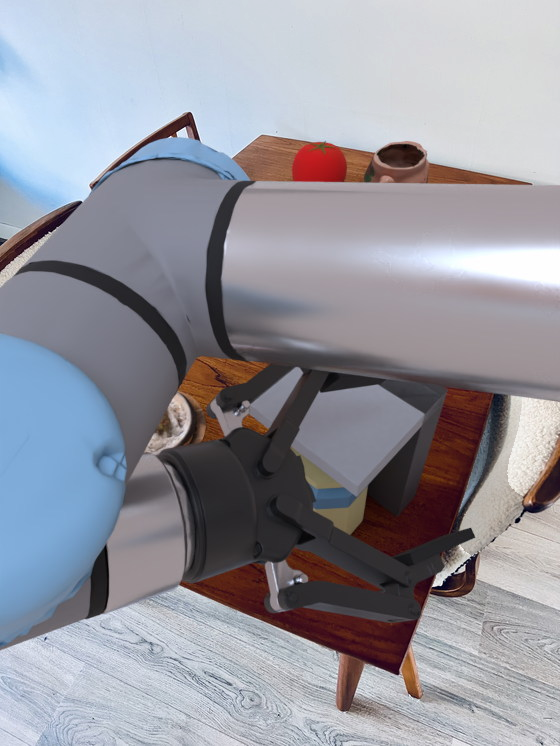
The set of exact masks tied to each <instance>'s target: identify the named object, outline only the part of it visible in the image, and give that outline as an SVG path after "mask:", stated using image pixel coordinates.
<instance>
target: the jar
mask: <svg viewBox="0 0 560 746" xmlns="http://www.w3.org/2000/svg"><path fill="white" fill-rule="evenodd" d="M290 449H291V450H292V451H293V452H294V453H295V454H296V456H299V455H300V456H301V459H302V462H303V464H304V469H305V478H306V480H307V482H308V483H309V485H310V487H311V488H312V490H313V493H314V496H315V498H316V502H314V503H313V511H315V512H317V513H319V514H320V515H322V516H324V517H326V518H328V519H330V520H331V521H333V523H334V526H335V527H336V528H338V529H340V530H342V531H344V532H346V533H348V534H349V535H351V536H352V534H353V532H354V531H355V530H356V529H357V527H359V525H360V524H361V523H362V522H363V520H364V514H365V508H366V502H367V501H366V500H367V496H368V495H367V489H368V485H367V486H366V487H365V489H364V490H363V491H362V492H361V493H360V494H359V495H358V496H357V497H356V496H355V495H354V494H352V493H351V492H350V491H348V490H347V489H346V488H344V487H343V486H342V485H341V484H339V483H338V482H337V481H335V480H334V479H333V478H331V477H330V476H329V475H328V474H326V473H325V472H324V471H322V470H321V469H320V468H318V467H317V466H316V465H315V464H313V463H312V462H311V461H309V460H308V459H307V458H306V457H304V456H303V455H302V454H300V453H299V452H298V451H296V450H295V449H294V448H293V447H290Z"/></svg>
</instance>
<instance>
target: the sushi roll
mask: <svg viewBox="0 0 560 746" xmlns="http://www.w3.org/2000/svg"><path fill="white" fill-rule="evenodd" d="M206 428H207V421H206V415H205V412H204V410H203V407H202V406H201V404H200V403H199V402H198V401H197V400H196V399H195V398H194V397H193V396H191V395H189V394H187V393H186V392H184V391H180V390H178V391H177V393H176V395H175V396H174V398H173V399H172V401H171V403H170V405H169V406H168V408H167V410H166V412H165V414H164V416H163V418H162V419H161V421H160V423H159V425H158V427H157V429H156V431H155V433H154V434H153V436H152V438H151V440H150V442H149V444H148V446H147V447H146V449H145V451H144V452H149V453H152V454H154V455H155V456H158V455H159V453H160V452H161V451H162V450H164V449H167V448H172V447H178V446H183V445H188V444H194V443H199V442H203V438H204V437H205V433H206Z"/></svg>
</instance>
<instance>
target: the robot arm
mask: <svg viewBox="0 0 560 746" xmlns="http://www.w3.org/2000/svg"><path fill="white" fill-rule="evenodd" d="M200 357H207V358H208V357H210V358H216V359H221V360H222V359H223V360H224V359H225V360H232V361H241V362H249V363H250V362H254V363H262V364H268V365H267V366H266V367H264V368H263V369H261V370H260V371H259V372H258V373H257V374H255V375H254V376H252V377H251V378H250V379H249V380H248V381H246V382H242V383H239V384H235V385H230V386H226V387H223V388H221V390H220V391H219V392H218V393H217V394H216V395H215V396H214V397H213V399H212V400H210V401H209V403H208V404H207V405H206V407H205V412H206V415H207V416H208V417H209V418H210V419H214V420H217V421H218V424H219V427H220V429H221V431H222V433H223V436H224V437H220V438H216V439H211V440H205V441H201V442H199V443H194V444H188V445H183V446H178V447H172V448H167V449H164V450H162V451H161V452H160V453H159V455H158V456H155V455H154V454H152V453H149V452H144V451H145V449H146V447H147V446H148V444H149V442H150V440H151V438H152V436H153V434H154V433H155V431H156V429H157V427H158V425H159V423H160V421H161V419H162V418H163V416H164V414H165V412H166V410H167V408H168V406H169V405H170V403H171V401H172V399H173V398H174V396H175V395H176V393H177V391H179V389H180V387H181V386H182V384H183V383H184V380H185V378H186V376H187V375H188V373H189V371H190V370H191V368H192V366H193V365H194V363H195V361H196V360H197V359H198V358H200ZM295 367H299V368H300V369H301V370H302V372H303V374H302V375H301V377H300V379H299V380H298V382H297V384H296V385H295V387H294V389H293V390H292V392H291V393H290V395H289V397H288V398H287V400H286V402H285V403H284V405H283V407H282V408H281V410H280V412H279V413H278V415H277V416H276V418H275V420H274V421H273V423H272V425H271V426H270V428H269V429H268V428H267V431H266V432H265V433H264V434H262V433H260V432H258V431H256V430H253V429H251V428H249V427H246V426H244V425H243V420H244V419H245V418H246V417H247V416H248V415H250V414H249V412H250V408H249V407H250V404H252V403H253V402H254V401H255V400H256V399H258V398H259V397H260V396H261V395H262V394H264V393H265V392H266V391H267V390H269V389H270V388H271V387H272V386H273V385H275V384H276V383H277V382H278V381H279V380H281V379H282V378H283V377H284V376H286V375H287V374H288V373H289V372H290V371H292V370H293V369H294V368H295ZM387 379H390V380H398V381H405V382H413V383H420V384H428V385H435V386H443V387H444V388H451V389H452V388H453V389H459V390H467V391H474V392H483V393H489V394H497V395H505V396H511V397H520V398H528V399H535V400H543V401H551V402H558V403H560V185H558V184H557V185H555V184H554V185H553V184H551V185H550V184H492V183H491V184H489V183H486V184H485V183H427V184H426V183H363V182H354V181H353V182H351V181H350V182H347V181H344V182H294V181H282V180H281V181H278V180H274V181H273V180H251V178H250V177H249V176H248V175H247V174H246V172H245V171H244V169H243V168H242V167H241V166H240V165H239V164H238V163H237V162H236V161H235V160H234V159H233V158H231V157H230V156H229V155H228V154H226V153H224V152H221V151H218V150H216V149H214V148H212V147H210V146H208V145H206V144H204V143H203V142H202V141H200V140H198V139H194V138H190V137H183V136H182V137H181V136H175V137H165V138H160V139H157V140H155V141H152V142H149V143H147V144H146V145H144V146H142V147H141V148H140V149H139V150H137V151H136V152H135V153H134V154H133V155H131V157H129V158H127V160H125V161H123V162H121V164H119V165H118V166H117V167H115V168H114V169H112V170H109V171H107V172H105V174H104V175H102V177H101V178H100V179H99V181H98V182H97V183H96V184H95V185H94V187H93V188H92V189H91V191H90V193H89V194H88V196H87V197H86V198H85V199H84V200H83V201H82V202H81V204H79V205H78V206H77V208H75V210H74V211H73V212H72V213H71V214H70V215H69V216H68V217H67V218H66V219H65V221H63V223H61V225H60V226H59V227H58V228H57V229H56V230H55V231H54V232H53V233H52V234H51V235H49V237H48V238H47V239H46V240H45V242H43V244H41V246H40V247H39V248H37V250H36V251H35V252H34V253H33V254H32V255H31V256H30V257H29V258H28V260H27V261H26V262H24V263H23V265H21V267H20V268H19V269H18V270H17V271H16V272H15V274H13V275H12V276H11V277H10V278H9V279H7V280H6V281H5V282H4V283H3V284H2V285H1V286H0V651H2V650H5V649H8V648H11V647H14V646H16V645H19V644H22V643H24V642H26V641H29V640H32V639H35V638H37V637H40V636H43V635H46V634H48V633H52V632H54V631H56V630H59V629H63V628H64V627H68V626H70V625H72V624H76V623H78V622H81V621H83V620H89V619H92V618H96V617H98V616H101V615H107V614H109V613H112V612H115V611H118V610H121V609H123V608H126V607H129V606H132V605H136V604H138V603H141V602H143V601H147V600H150V599H152V598H155V597H158V596H161V595H164V594H167V593H170V592H173V591H175V590H176V589H177V588H178V587H179V586H180V584H181V582H182V581H183V582H185V583H187V584H196V583H198V582H201V581H205V580H207V579H209V578H212V577H216V576H218V575H221V574H224V573H227V572H230V571H232V570H235V569H238V568H241V567H244V566H247V565H251V564H257V565H262V566H264V569H265V573H266V578H267V584H268V589H269V592H267V593H266V594H265V596H264V599H263V601H264V602H263V605H264V608H265V610H266V611H267V612H269V613H271V614H277V613H281V612H288V611H291V610H297V609H300V608H305V609H310V610H315V611H321V612H327V613H333V614H338V615H343V616H350V617H355V618H361V619H367V620H372V621H378V622H382V623H388V624H392V623H393V624H394V623H401V622H402V623H403V622H410V621H417V620H419V619H420V618H421V616H422V607H421V604H420V602H418V600H417V599H415V593H414V592H415V587H416V585H417V584H419V583H421V582H422V581H425V580H426V579H429V578H431V577H433V576H435V575H438V574H440V573H441V572H443V570H444V569H445V568H446V566H445V564H444V561H443V559H442V556H441V554H442V553H444V552H446V551H448V550H451V549H453V548H454V547H457V546H460V545H462V544H464V543H467V542H469V541H471V540H474V539H476V538H477V537H476V535H475V532H474V530H473V528H472V527H471V526H470V527H467V528H463V529H461V530H457V531H454V532H450V533H447V534H444V535H441V536H439V537H436V538H434V539H432V540H429V541H426V542H424V543H421V544H420V545H417V546H414V547H413V548H410V549H408V550H405V551H403V552H400V553H398V554H396V555H393V556H390V555H388V554H387V553H384V552H383V551H381V550H379V549H377V548H375V547H373V546H371V545H369V544H368V543H366V542H364V541H363V540H361V539H359V538H357V537H356V536H353V535H352V534H351V535H349V534H348V533H346V532H344V531H342V530H340V529H338V528H336V527H335V526H334V523H333V521H331V520H330V519H328V518H326V517H324V516H322V515H320V514H319V513H317V512H315V511H313V503H314V502H316V498H315V496H314V493H313V490H312V488H311V487H310V485H309V483H308V482H307V480H306V478H305V469H304V464H303V462H302V459H301V456H300V455H299V456H296V454H295V453H294V452H293V451H292V450H291V445H292V443H293V441H294V439H295V438H296V436H297V434H298V432H299V430H300V428H299V426H300V425H301V423H302V421H303V419H304V417H305V416H306V414H307V412H308V410H309V408H310V407H311V405H312V403H313V401H314V400H315V398H316V396H317V394H318V392H319V391H320V393H324V392H331V391H337V390H344V389H351V388H358V387H365V386H372V385H378V384H381V383H383V382H384V381H386V380H387ZM295 548H296V549H297V550H299V551H302V552H303V551H304V552H310V553H311V554H313V555H315V556H317V557H319V558H321V559H323V560H325V561H327V562H328V563H331V564H332V565H334V566H336V567H338V568H339V569H341V570H344V571H346V572H348V573H350V574H352V575H354V576H356V577H357V578H359V579H361V580H362V581H365V582H367V583H369V584H370V585H373V586H374V587H377V588H378V589H379V590H376V591H375V590H371V589H367V588H362V587H357V586H351V585H347V584H341V583H337V582H333V581H332V582H331V581H326V580H312V581H310V580H309V577H308V575H307V574H306V573H304V572H303V571H302V570H300V569H293V568H291V566H289V564H288V562H287V559H288V558H289V557H290V556H291V554H292V552H293V551H294V549H295Z"/></svg>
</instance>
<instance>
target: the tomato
mask: <svg viewBox="0 0 560 746" xmlns="http://www.w3.org/2000/svg"><path fill="white" fill-rule="evenodd" d="M347 172H348V163H347V159H346V157H345V153H344V152H343V151H342V150H341V148H340V147H338V146H337V145H335V144H333V143H331V142H327V140H325V141H316V142H311V143H307V144H305V145H303V146H302V147H301V148H300V149H299V150H298V151H297V152H296V153H295V156H294V158H293V162H292V166H291V175H292V177H291V178H292V182H345V180H346V177H347Z"/></svg>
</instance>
